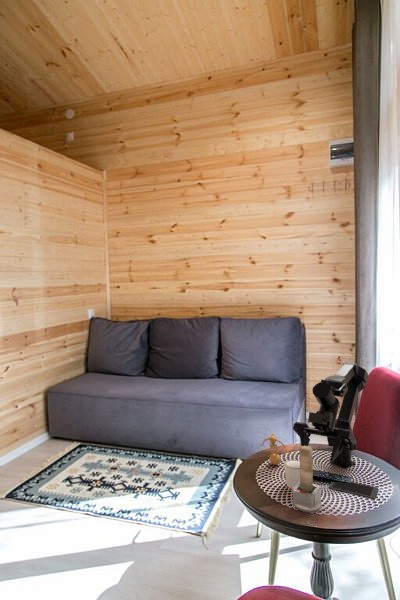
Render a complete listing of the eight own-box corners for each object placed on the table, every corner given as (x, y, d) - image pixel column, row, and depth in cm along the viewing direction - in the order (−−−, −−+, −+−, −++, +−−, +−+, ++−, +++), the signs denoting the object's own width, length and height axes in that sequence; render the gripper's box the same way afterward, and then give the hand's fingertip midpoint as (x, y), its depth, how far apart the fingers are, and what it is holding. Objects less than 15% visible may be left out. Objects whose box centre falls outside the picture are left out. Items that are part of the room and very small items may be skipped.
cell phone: (375, 500, 122) (375, 498, 122) (328, 489, 129) (328, 487, 129) (379, 489, 128) (379, 487, 128) (333, 479, 135) (333, 477, 135)
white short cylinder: (307, 491, 128) (306, 469, 127) (284, 489, 129) (284, 468, 129) (305, 480, 134) (305, 459, 134) (284, 479, 136) (284, 458, 135)
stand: (299, 495, 125) (299, 477, 125) (325, 502, 121) (324, 484, 120) (288, 506, 119) (288, 488, 119) (315, 515, 114) (314, 496, 114)
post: (303, 484, 122) (302, 444, 122) (315, 487, 120) (314, 447, 120) (298, 489, 119) (297, 449, 119) (310, 493, 117) (309, 452, 117)
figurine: (287, 464, 147) (287, 431, 146) (284, 471, 141) (283, 437, 141) (265, 460, 150) (264, 428, 150) (260, 467, 145) (259, 434, 144)
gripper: (292, 397, 136) (279, 442, 128) (348, 404, 124) (337, 453, 116) (305, 414, 142) (293, 457, 134) (359, 421, 130) (349, 469, 122)
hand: (316, 458), depth 126 cm, fingers open, 9 cm apart
